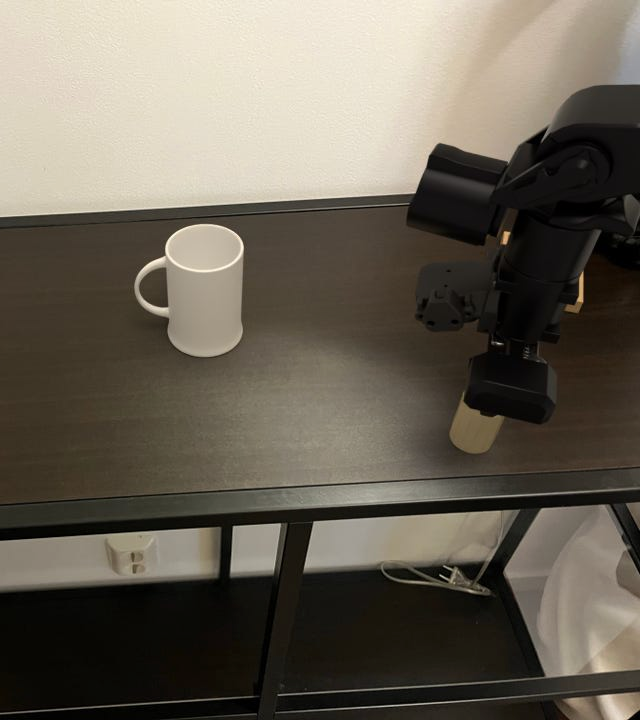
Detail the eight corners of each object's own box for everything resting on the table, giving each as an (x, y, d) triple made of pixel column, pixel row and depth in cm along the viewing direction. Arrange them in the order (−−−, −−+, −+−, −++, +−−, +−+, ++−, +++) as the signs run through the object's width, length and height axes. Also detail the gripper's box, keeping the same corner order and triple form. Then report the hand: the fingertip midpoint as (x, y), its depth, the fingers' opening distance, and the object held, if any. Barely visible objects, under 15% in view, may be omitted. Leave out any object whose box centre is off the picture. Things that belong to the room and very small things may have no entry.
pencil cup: (493, 427, 74) (509, 390, 70) (490, 458, 71) (507, 422, 67) (451, 417, 75) (465, 380, 71) (446, 447, 72) (460, 411, 68)
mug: (136, 357, 83) (127, 273, 74) (142, 305, 89) (135, 222, 80) (243, 358, 82) (247, 273, 73) (242, 306, 88) (245, 222, 79)
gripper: (448, 177, 65) (413, 309, 76) (417, 314, 53) (381, 447, 64) (587, 198, 62) (529, 333, 73) (587, 349, 50) (518, 483, 61)
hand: (488, 393), depth 68 cm, fingers open, 5 cm apart
